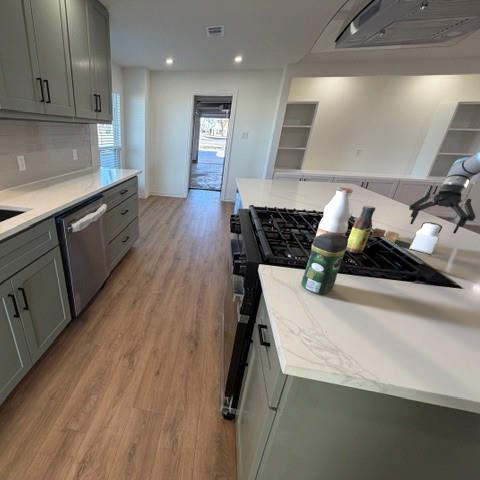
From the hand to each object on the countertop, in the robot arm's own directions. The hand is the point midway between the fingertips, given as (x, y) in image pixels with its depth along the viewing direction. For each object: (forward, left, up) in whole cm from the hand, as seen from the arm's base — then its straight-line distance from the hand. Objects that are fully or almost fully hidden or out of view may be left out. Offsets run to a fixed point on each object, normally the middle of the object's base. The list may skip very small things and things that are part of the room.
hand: (432, 227), depth 110 cm
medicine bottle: (0, +3, -10) cm, 10 cm away
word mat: (+8, +3, -10) cm, 13 cm away
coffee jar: (+16, +74, -11) cm, 76 cm away
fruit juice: (+24, +46, -11) cm, 53 cm away
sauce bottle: (+18, +30, -11) cm, 36 cm away
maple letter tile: (+11, +3, -10) cm, 15 cm away
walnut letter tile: (+16, +3, -10) cm, 19 cm away
